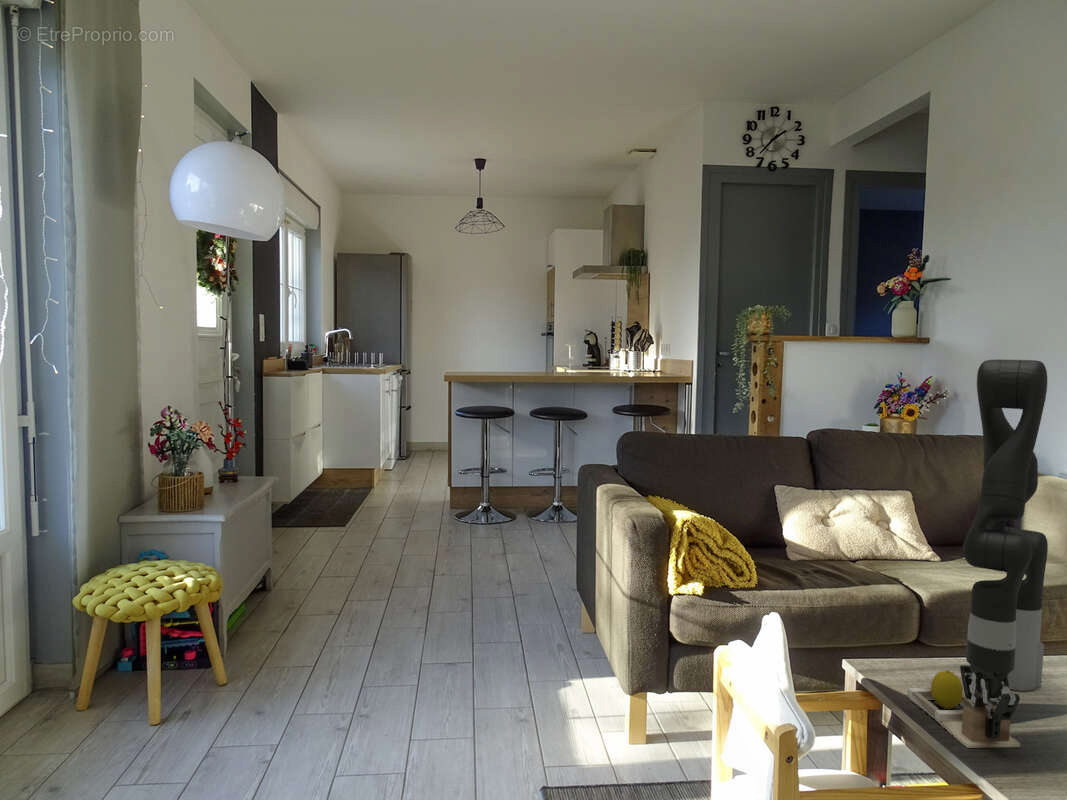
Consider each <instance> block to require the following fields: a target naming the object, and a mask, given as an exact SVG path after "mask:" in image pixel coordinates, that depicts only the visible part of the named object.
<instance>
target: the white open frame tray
mask: <svg viewBox="0 0 1067 800" xmlns="http://www.w3.org/2000/svg"><path fill="white" fill-rule="evenodd" d="M907 697H908V698H909V699H908V700H909V701H911V700H912V701H913V702H914V703H915V704H917V705H918V706H919V707H920V708H922V709H923V710H924V711H926V712H927V713H928V714H929V715H930V716H931V717H932V718H934V719H935V720H936V721H937V722H938V723H939V724H940V725H941V727H942V728H943V729H944V728H945V729H946V730H947V731H946V730H945V729H944V730H945V731H946V732H947V733H948V734H950V735H951V736H952V735H953V737H954V739H956V740H957V741H958V742H959V743H961V744H962V745H963V746H965V748H969V749H973V748H978V749H979V748H982V749H983V748H1021V745H1022V744H1021V743H1020V742H1019V741H1017V739H1015V738H1014V737H1012V736H1011V735H1010V730H1011V719H1010V720H1001V725H1000V735H999V738H997V739H989V738H987V737H986V736H985V727H986V717H987V715H986V707H972V706H971V703H970V702H971V701H970V699H966V697H965V694H964V693H963V696H962V700H961V702H960V703H959V704H960V705H959V704H958V705H959V706H961V707H962V709H951V710H950V709H948V710H945V709H943V710H942V709H939V707H937V706H936V705H934V704H933V703H932V702H931V701H928V700H934V699H933V697H932V693H931V687H914V688H913V687H907ZM912 701H911V702H912ZM913 702H912V703H913ZM914 703H913V704H914ZM915 704H914V705H915ZM917 705H916V706H917ZM918 706H917V707H918ZM919 707H918V708H919ZM920 708H919V709H920ZM995 709H996V706H993V712H995ZM923 710H922V711H923ZM924 711H923V712H924ZM1004 713H1005V712H1004ZM929 715H928V716H929ZM930 716H929V717H930ZM931 717H930V718H931ZM932 718H931V719H932ZM935 720H934V721H935ZM936 721H935V722H936ZM937 722H936V723H937ZM938 723H937V724H938ZM939 724H938V725H939ZM940 725H939V726H940Z"/></svg>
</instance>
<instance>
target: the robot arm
mask: <svg viewBox="0 0 1067 800" xmlns="http://www.w3.org/2000/svg"><path fill="white" fill-rule="evenodd" d="M976 373H977V375H976V393H977V399H978V400H977V401H978V407H979V414H980V421H981V427H982V428H981V429H982V437H983V439H982V440H983V442H982V443H983V473H982V479H981V488H980V489H981V490H980V497H979V503H978V507H977V511H976V515H975V517H974V519H973V521H972V524H971V526H970V528H969V530H968V532H967V534H966V536H965V538H964V541H963V544H962V555H963V558H964V560H965V561H966V563H968V565H970V566H972V567H974V568H979V569H985V570H991V571H997V572H1004V573H1006V575H1005V576H1004V577H1003V578H1001V579H984V580H978V581H976V582H974V584H973V585H972V588H971V600H970V602H971V604H970V615H969V619H968V625H967V638H966V639H967V640H966V655H965V657H966V659H965V660H966V662H967V663H968V664H969V665H968V664H967V665H965V664H963V665H962V664H961V665H959V672H960V675H961V683H962V688H963V694H964V695H965V697H966V699H970V701H971V702H970V703H971V706H972V707H986V715H987V717H986V727H985V736H986V737H987V738H989V739H997V738H999V735H1000V725H1001V720H1010V721H1011V719H1012V717H1013V715H1014V712H1015V710H1016V708H1017V707H1018V705H1019V702H1020V700H1021V697H1020V695H1019V694H1018V693H1013V692H1012V691H1011V690H1014V691H1023V692H1026V691H1028V692H1029V691H1034V690H1036V689H1037V688H1042V679H1043V667H1044V666H1043V665H1044V664H1043V663H1044V652H1045V651H1044V649H1045V645H1044V644H1045V643H1043V642H1042V641H1040V639H1041V626H1042V614H1043V613H1042V611H1043V597H1044V596H1043V594H1044V582H1045V574H1046V567H1047V559H1048V551H1049V544H1048V543H1049V542H1048V538H1047V537H1046V535H1045V534H1044V533H1043V532H1040V531H1036V530H1028V529H1020V528H1014V527H1008V526H1006V525H1007V523H1008V522H1009V521H1015V520H1016V521H1017V520H1020V519H1021V518H1023V516H1024V514H1025V508H1026V504H1027V503H1028V502H1029V501H1030V499H1031V498H1032V497H1033V496H1034V495H1035V493H1036V491H1037V489H1038V487H1039V471H1038V467H1039V465H1038V464H1039V461H1038V459H1037V455H1036V453H1035V452H1034V450H1035V447H1036V442H1037V438H1038V434H1039V430H1040V425H1041V421H1042V418H1043V412H1044V408H1045V405H1046V404H1045V403H1046V398H1047V390H1048V372H1047V367H1046V365H1045V364H1044V363H1043V361H1040V360H1034V359H1032V360H1031V359H987V360H984V361H983V362H981V364H980V365H979V367H978V370H977V372H976ZM1003 409H1010V410H1011V409H1012V410H1022V412H1021V416H1020V418H1019V419H1020V420H1019V421H1018V424H1017V425H1016V427H1015V428H1014V427H1013V426H1011V424H1010V423H1009V421H1008V419H1007V417H1006V416H1005V413H1004V411H1003ZM1024 577H1025V578H1024ZM993 706H996V709H995V712H993ZM1004 712H1005V713H1004Z"/></svg>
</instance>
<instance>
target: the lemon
mask: <svg viewBox="0 0 1067 800" xmlns="http://www.w3.org/2000/svg"><path fill="white" fill-rule="evenodd" d="M930 688H931V693H932V697H933V699H934V700H935V701H934V702H935V703H936V704H938V705H939V706H940V707H941V708H943V710H945V709H948V710H950V709H953V708H956V707H958V705H959V703H960V702H961V700H962V696H963V694H964V688H963V683H962V680H960V678H959V677H958V676H957V674H955V673H953V672H951V670H949V669H946V670H942V671H939V672H937V673H936V674H935V675H934V676H933V678H932V681H931V685H930Z"/></svg>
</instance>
